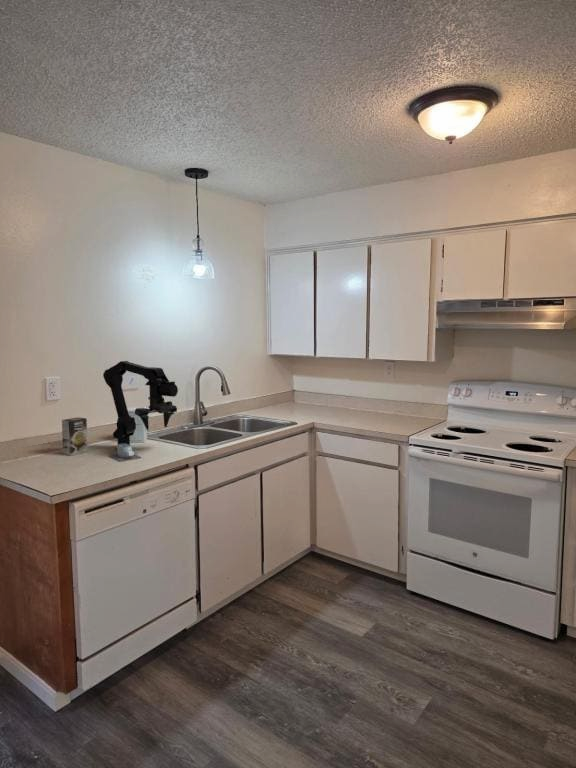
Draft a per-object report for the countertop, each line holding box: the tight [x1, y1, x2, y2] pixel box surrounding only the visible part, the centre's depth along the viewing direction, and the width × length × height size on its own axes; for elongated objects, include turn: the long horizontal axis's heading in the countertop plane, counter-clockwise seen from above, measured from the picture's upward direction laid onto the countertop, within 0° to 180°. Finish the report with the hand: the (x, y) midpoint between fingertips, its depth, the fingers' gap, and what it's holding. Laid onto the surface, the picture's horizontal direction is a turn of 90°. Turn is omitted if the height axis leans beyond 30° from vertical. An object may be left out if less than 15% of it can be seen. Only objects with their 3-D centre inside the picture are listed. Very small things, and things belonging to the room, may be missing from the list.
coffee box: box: [61, 417, 89, 456], centre depth 234 cm, size 9×6×16 cm
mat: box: [108, 453, 142, 463], centre depth 228 cm, size 12×10×1 cm
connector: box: [116, 443, 135, 459], centre depth 227 cm, size 12×4×5 cm, turn 43°
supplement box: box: [127, 406, 148, 444], centre depth 260 cm, size 10×9×17 cm
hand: (156, 428), depth 233 cm, fingers open, 9 cm apart
